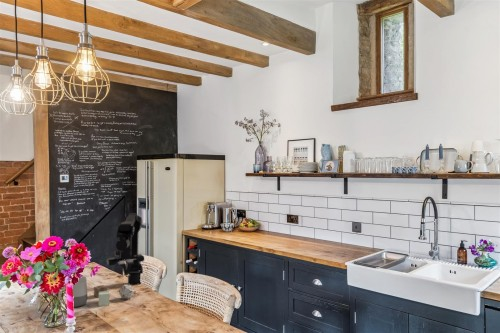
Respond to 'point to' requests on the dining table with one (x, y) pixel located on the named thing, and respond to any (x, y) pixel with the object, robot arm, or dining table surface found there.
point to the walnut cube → (98, 289)
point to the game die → (126, 291)
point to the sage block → (103, 298)
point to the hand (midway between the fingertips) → (125, 275)
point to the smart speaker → (80, 292)
